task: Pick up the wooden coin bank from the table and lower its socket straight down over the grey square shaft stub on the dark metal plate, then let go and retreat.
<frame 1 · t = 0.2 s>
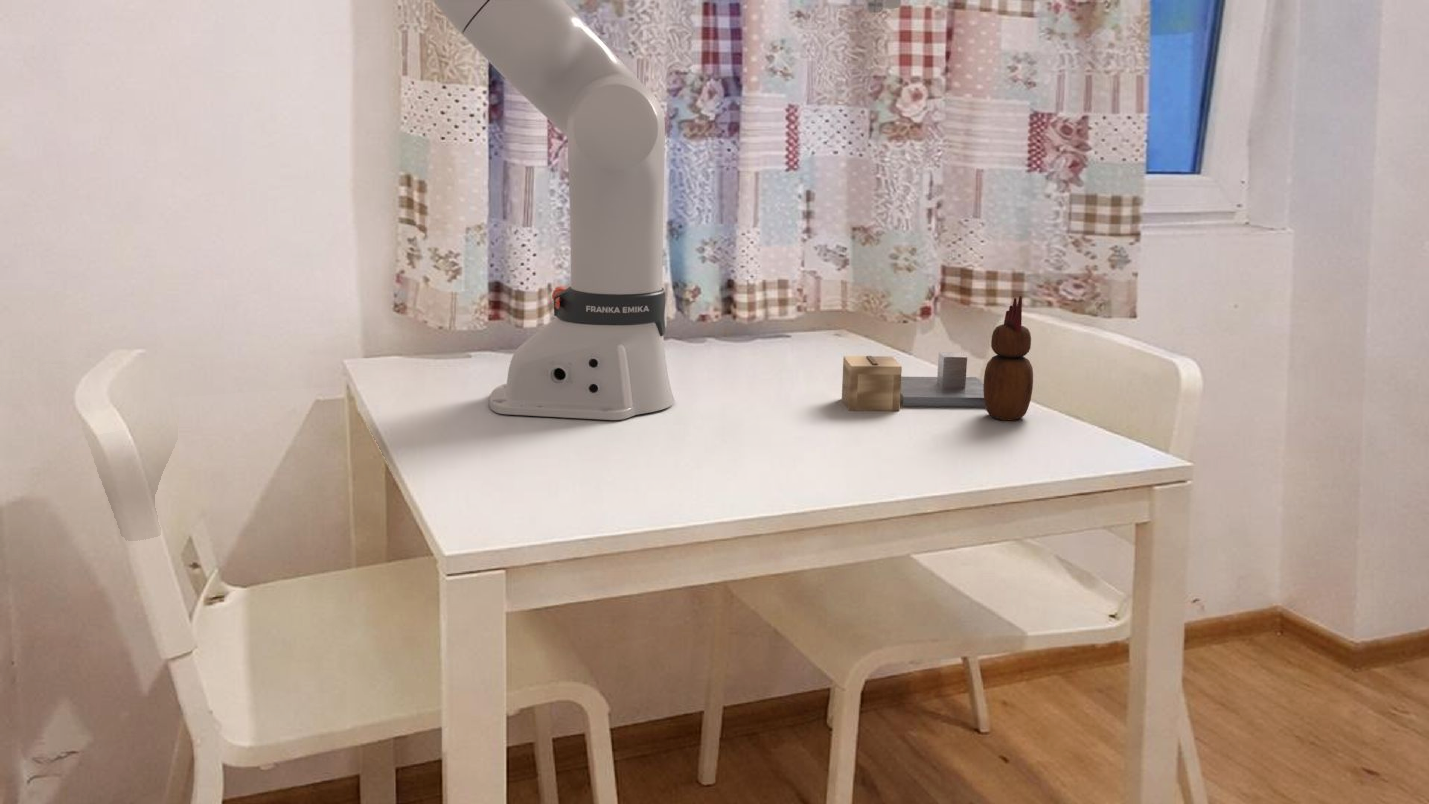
hand: (882, 10, 153), 47 cm above the table, fingers open, 8 cm apart
wooden coin bank: (870, 404, 164), on the table
wooden figurine: (1005, 418, 159), on the table
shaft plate: (940, 395, 169), on the table
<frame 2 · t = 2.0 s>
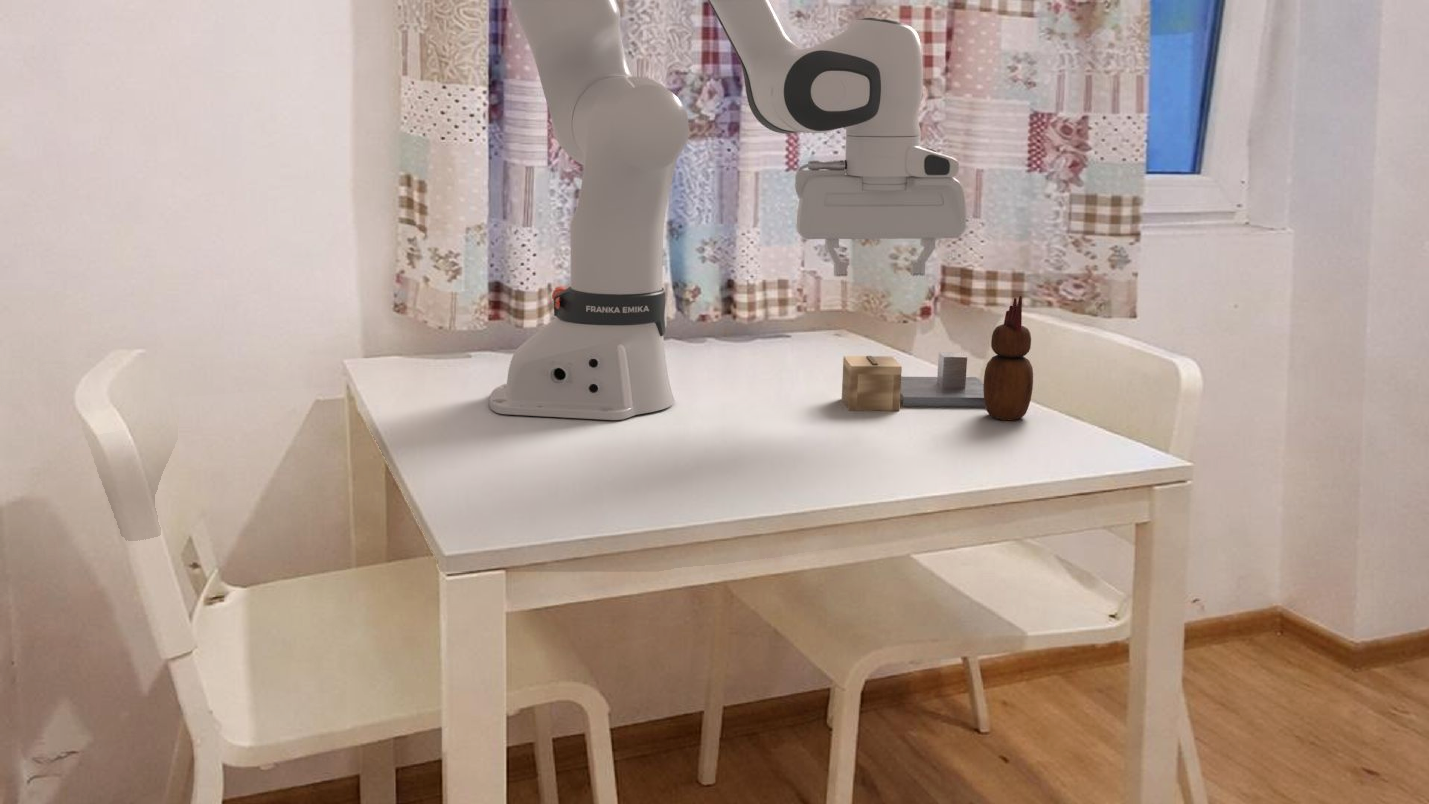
hand: (879, 275, 160), 16 cm above the table, fingers open, 8 cm apart
nothing on the table moved.
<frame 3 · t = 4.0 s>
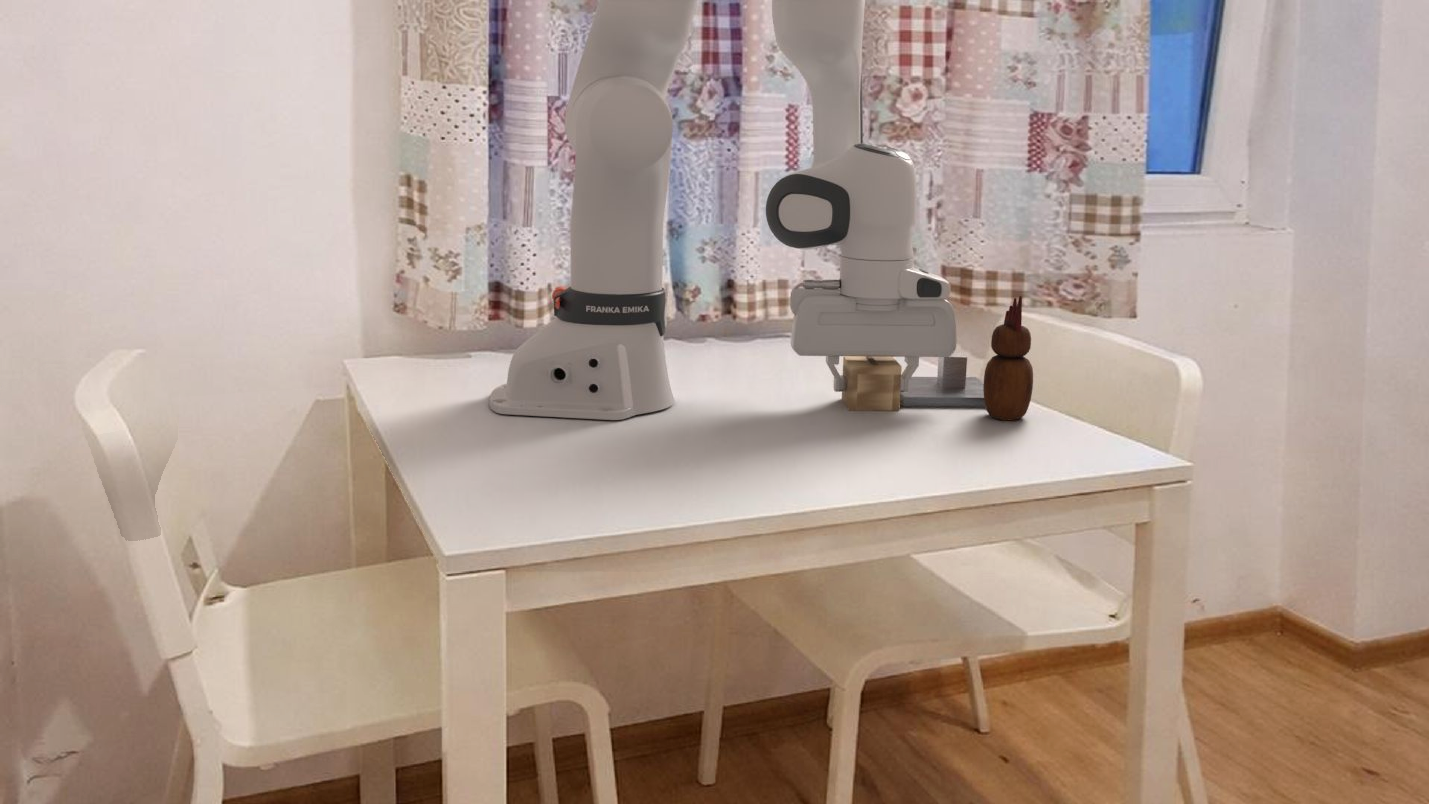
hand: (870, 391, 164), 2 cm above the table, fingers closed on wooden coin bank, 6 cm apart
wooden coin bank: (869, 404, 164), on the table, touching gripper
everything else where it was.
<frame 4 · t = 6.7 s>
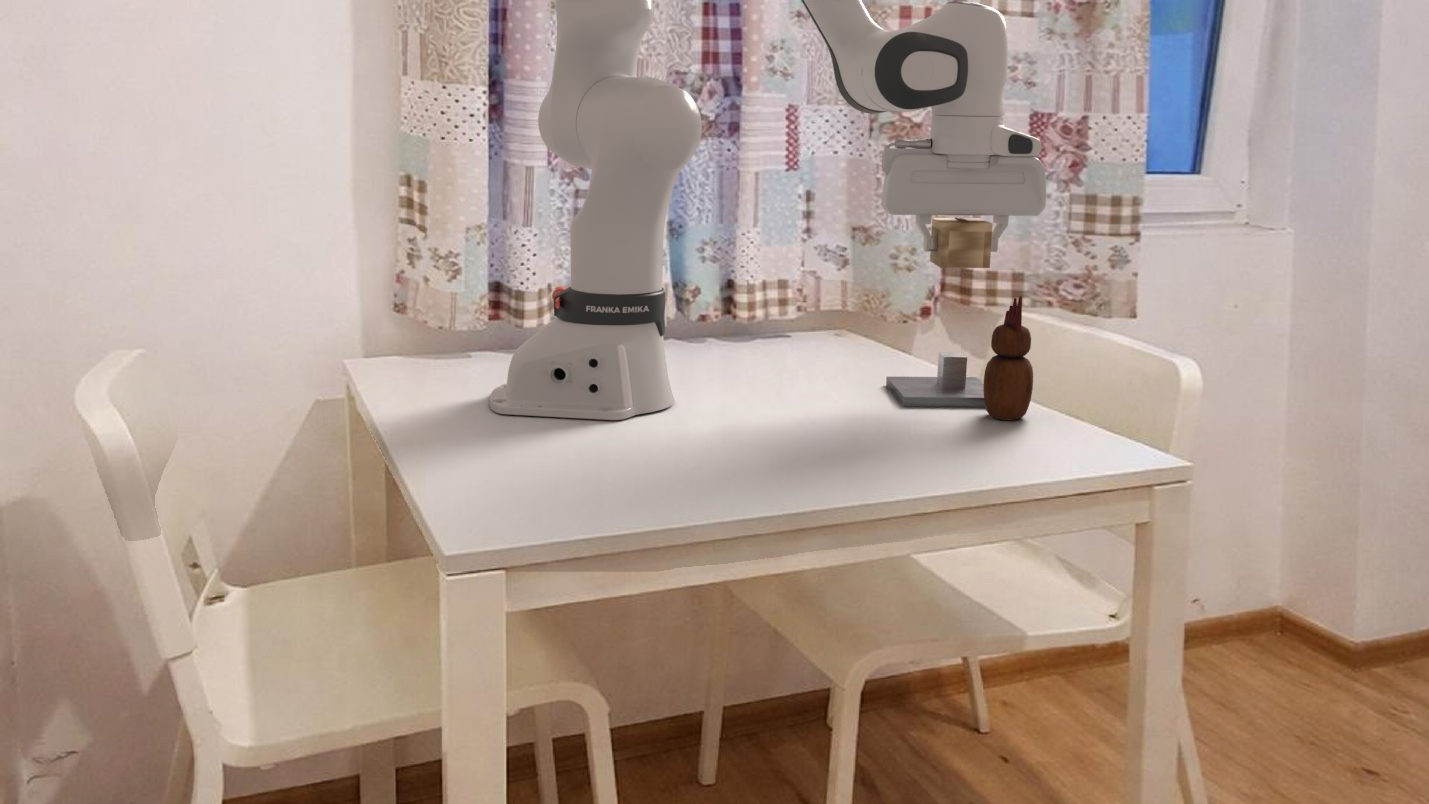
hand: (960, 251, 166), 18 cm above the table, fingers closed on wooden coin bank, 6 cm apart
wooden coin bank: (959, 264, 167), point 17 cm above the table, touching gripper
everything else where it was.
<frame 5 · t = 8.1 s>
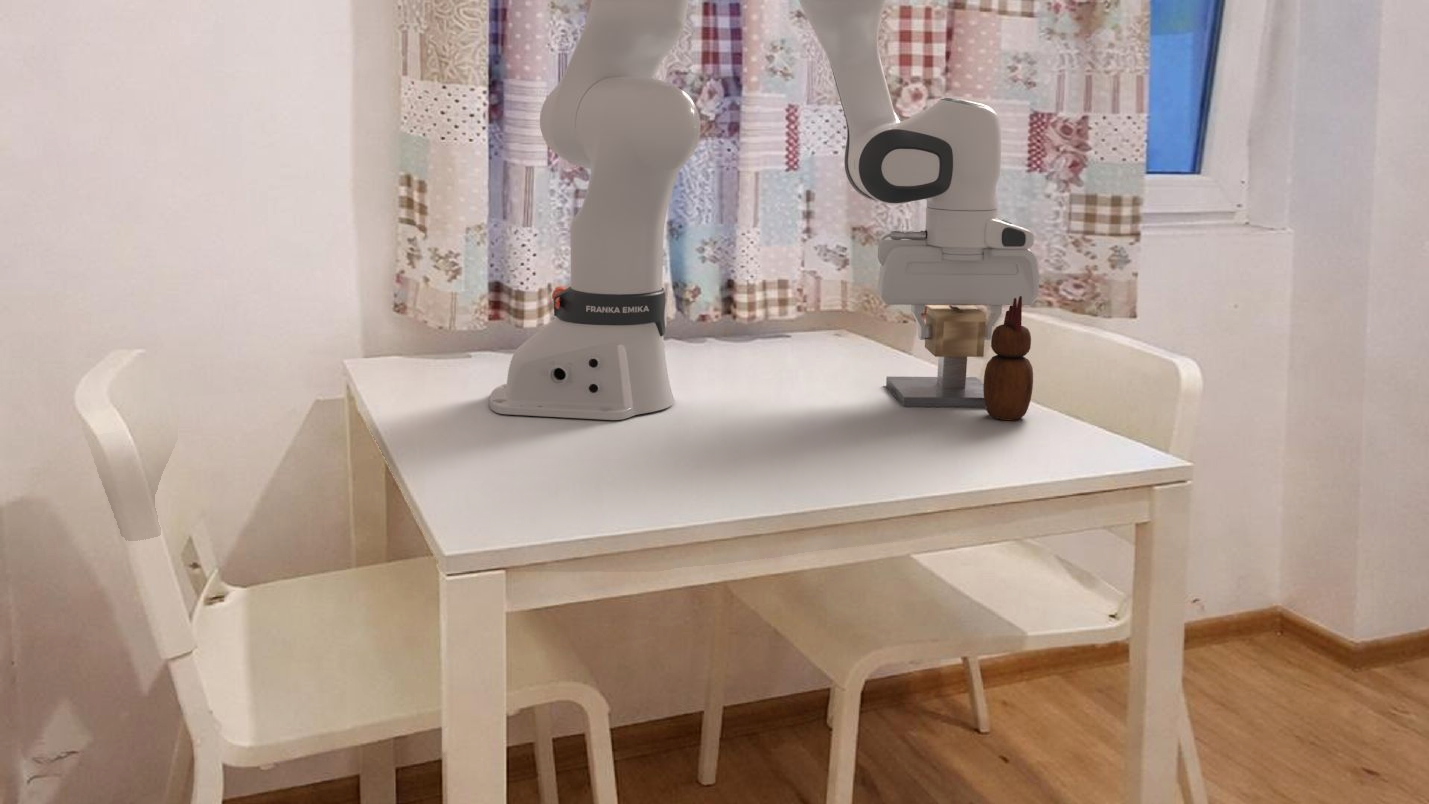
hand: (954, 339, 169), 7 cm above the table, fingers closed on wooden coin bank, 6 cm apart
wooden coin bank: (953, 351, 170), point 6 cm above the table, touching gripper
everything else where it was.
when the fingers open (4 cm above the table, at t = 9.3 s): wooden coin bank stays where it is, resting on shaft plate.
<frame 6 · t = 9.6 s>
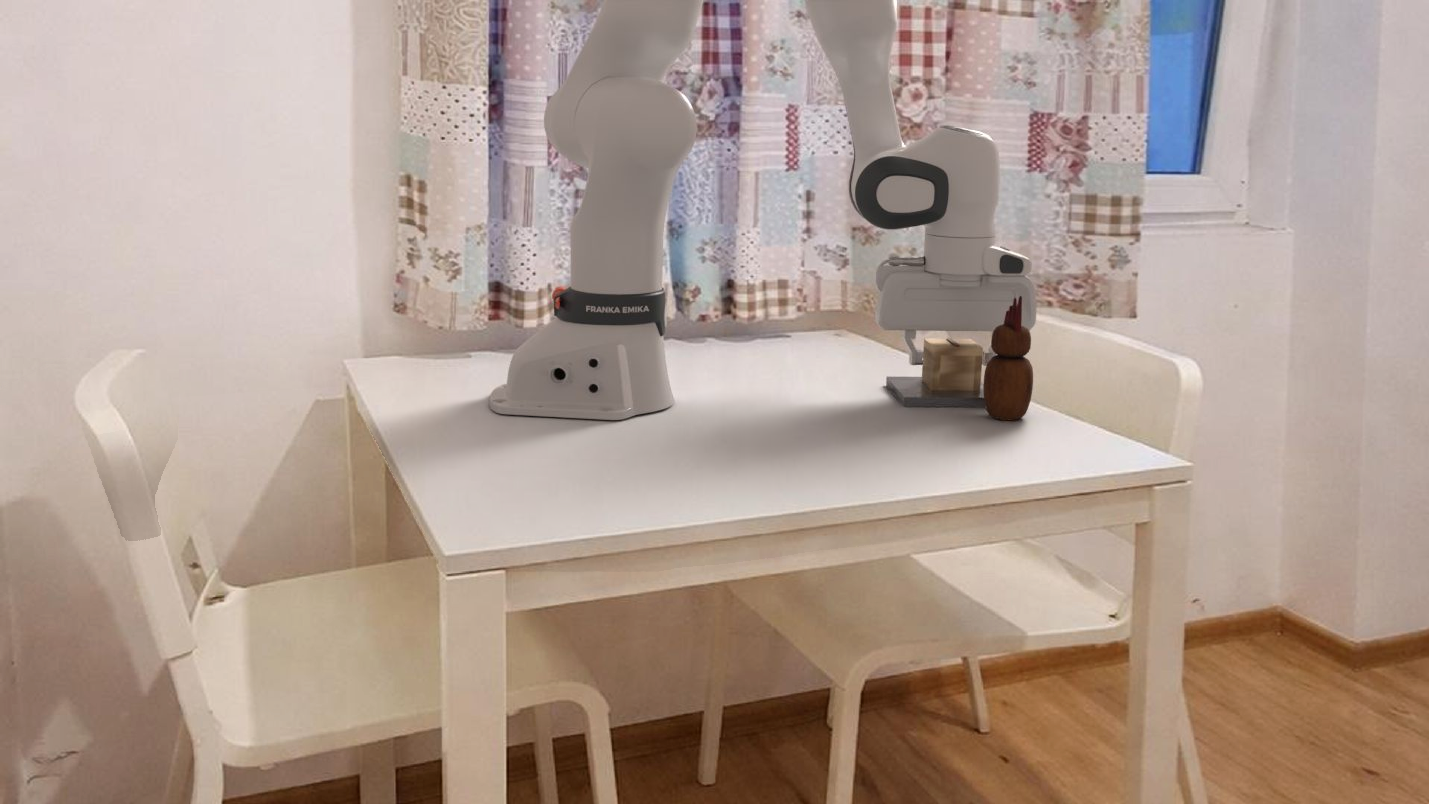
hand: (952, 364, 170), 4 cm above the table, fingers open, 8 cm apart
wooden coin bank: (950, 385, 170), point 1 cm above the table, touching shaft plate
everything else where it was.
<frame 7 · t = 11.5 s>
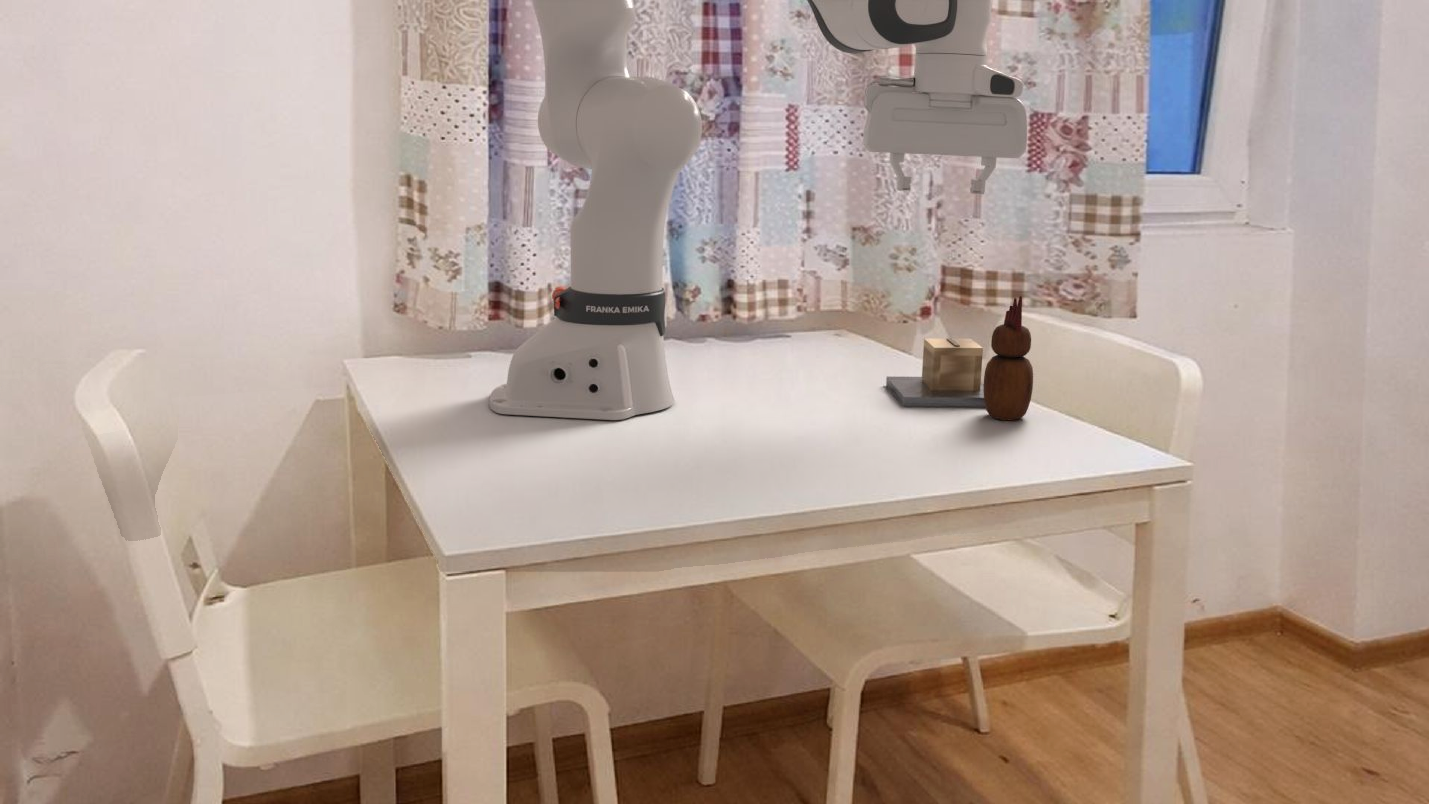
hand: (940, 192, 167), 26 cm above the table, fingers open, 8 cm apart
nothing on the table moved.
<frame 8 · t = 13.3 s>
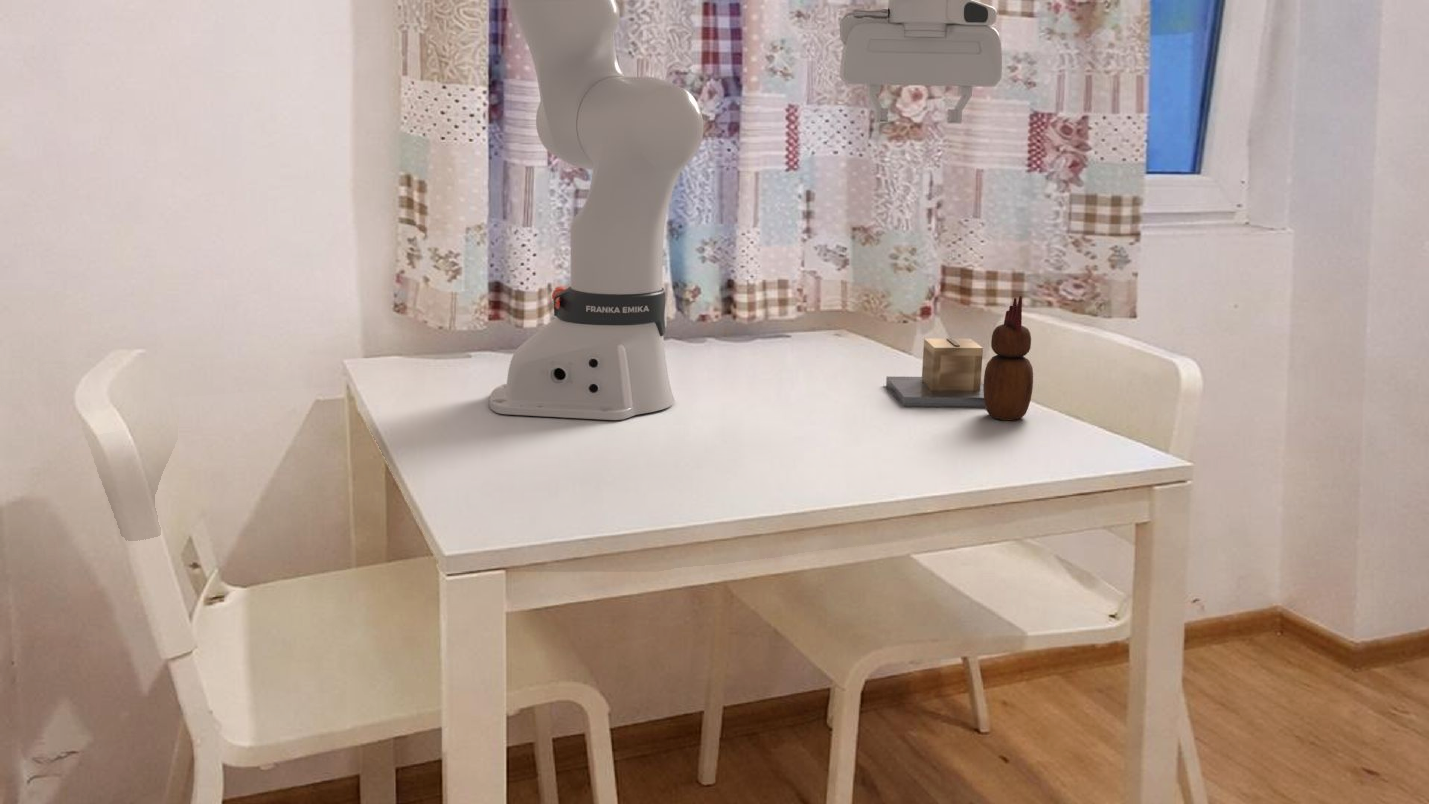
hand: (917, 122, 168), 34 cm above the table, fingers open, 8 cm apart
nothing on the table moved.
at the end: wooden coin bank 0.1 cm from the target spot on the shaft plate, point 1.2 cm above the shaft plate's base; wooden coin bank tilted 0°; the gripper is holding nothing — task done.
